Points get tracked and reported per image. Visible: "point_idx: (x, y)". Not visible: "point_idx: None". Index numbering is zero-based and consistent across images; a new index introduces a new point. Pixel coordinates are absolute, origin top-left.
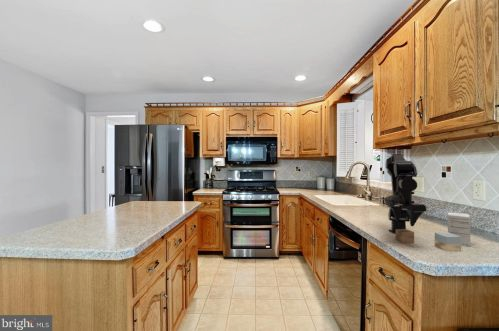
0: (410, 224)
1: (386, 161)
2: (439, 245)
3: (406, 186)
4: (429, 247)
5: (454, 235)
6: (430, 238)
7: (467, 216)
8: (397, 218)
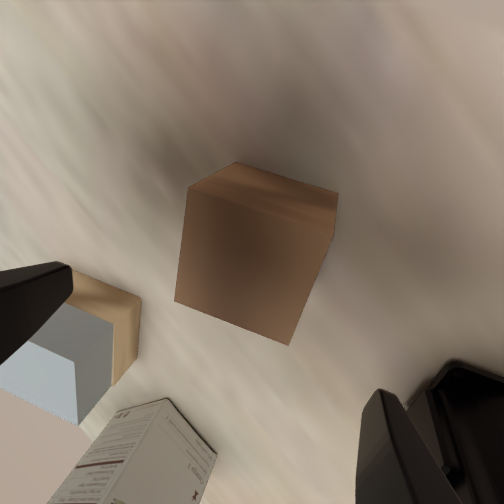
0: (44, 270)
1: None
2: (96, 293)
3: None
4: (125, 249)
5: (15, 385)
6: (259, 417)
7: None
8: (376, 443)
